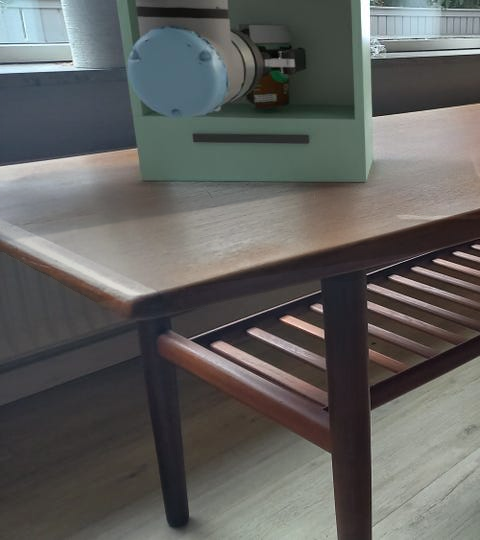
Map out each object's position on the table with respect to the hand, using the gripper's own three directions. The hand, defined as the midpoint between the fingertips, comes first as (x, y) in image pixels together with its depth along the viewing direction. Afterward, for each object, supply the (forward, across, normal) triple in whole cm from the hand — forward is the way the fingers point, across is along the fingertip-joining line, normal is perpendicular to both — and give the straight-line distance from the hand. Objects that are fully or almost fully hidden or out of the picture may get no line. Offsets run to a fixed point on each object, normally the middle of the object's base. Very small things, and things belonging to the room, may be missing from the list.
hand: (264, 55), depth 93 cm
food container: (-3, +1, -6) cm, 7 cm away
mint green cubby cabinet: (-3, 0, -15) cm, 15 cm away
